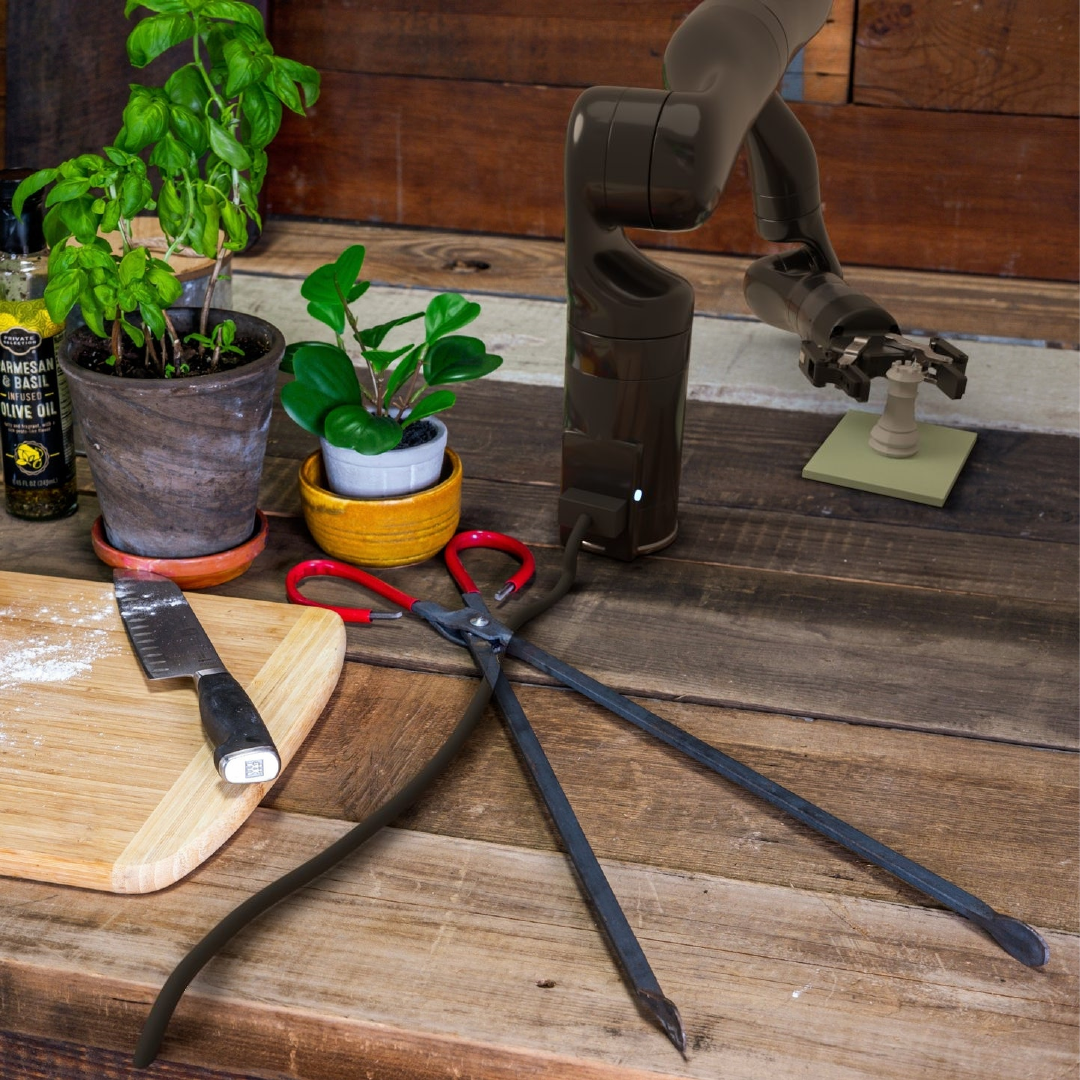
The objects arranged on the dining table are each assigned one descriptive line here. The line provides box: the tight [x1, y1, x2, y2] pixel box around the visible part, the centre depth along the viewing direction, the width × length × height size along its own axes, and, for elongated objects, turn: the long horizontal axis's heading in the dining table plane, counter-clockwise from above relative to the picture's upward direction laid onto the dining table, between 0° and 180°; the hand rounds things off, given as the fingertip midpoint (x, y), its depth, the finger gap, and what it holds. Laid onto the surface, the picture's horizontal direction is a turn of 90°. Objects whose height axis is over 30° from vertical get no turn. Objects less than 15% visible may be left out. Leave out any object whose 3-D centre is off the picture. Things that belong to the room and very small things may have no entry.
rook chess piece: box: [868, 360, 924, 458], centre depth 111 cm, size 4×4×8 cm
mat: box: [801, 408, 978, 508], centre depth 113 cm, size 16×12×1 cm
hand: (913, 390), depth 108 cm, fingers open, 8 cm apart
